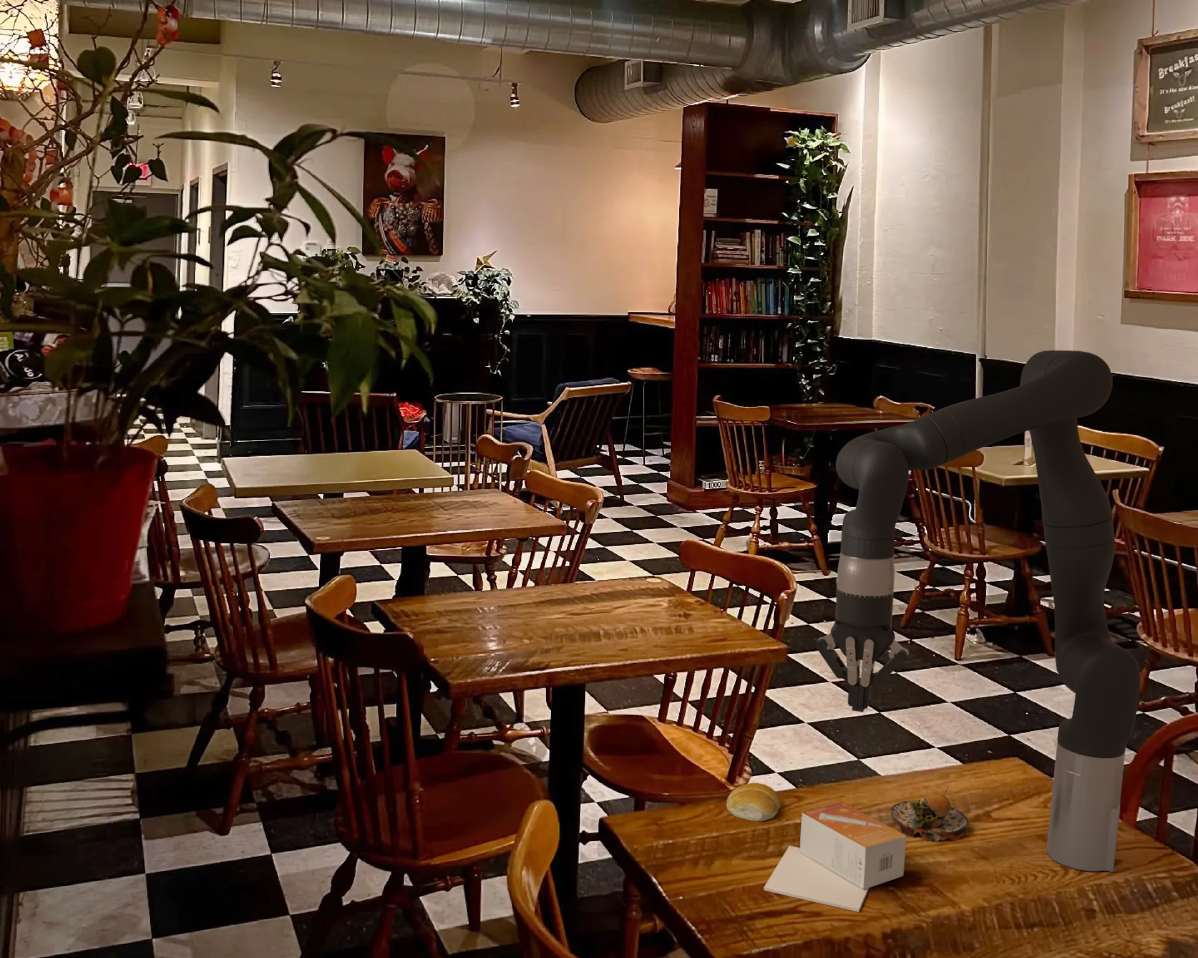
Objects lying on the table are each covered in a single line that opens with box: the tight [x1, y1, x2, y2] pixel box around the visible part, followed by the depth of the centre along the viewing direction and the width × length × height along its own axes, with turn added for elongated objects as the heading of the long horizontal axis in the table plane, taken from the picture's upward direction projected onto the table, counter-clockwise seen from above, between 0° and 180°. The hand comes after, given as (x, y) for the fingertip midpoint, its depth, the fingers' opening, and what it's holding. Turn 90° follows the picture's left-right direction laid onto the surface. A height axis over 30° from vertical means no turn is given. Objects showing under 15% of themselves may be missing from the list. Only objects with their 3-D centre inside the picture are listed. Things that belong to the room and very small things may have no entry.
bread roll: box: [726, 782, 782, 822], centre depth 189 cm, size 8×9×4 cm
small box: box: [799, 801, 907, 889], centre depth 170 cm, size 8×6×13 cm
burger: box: [890, 787, 969, 843], centre depth 185 cm, size 12×12×8 cm
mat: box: [763, 845, 870, 913], centre depth 167 cm, size 13×14×1 cm
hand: (858, 709), depth 163 cm, fingers closed
